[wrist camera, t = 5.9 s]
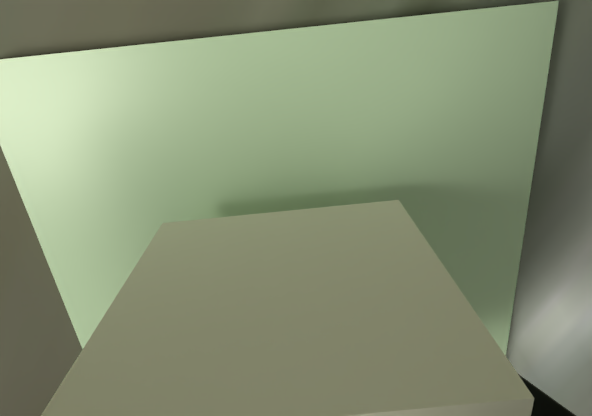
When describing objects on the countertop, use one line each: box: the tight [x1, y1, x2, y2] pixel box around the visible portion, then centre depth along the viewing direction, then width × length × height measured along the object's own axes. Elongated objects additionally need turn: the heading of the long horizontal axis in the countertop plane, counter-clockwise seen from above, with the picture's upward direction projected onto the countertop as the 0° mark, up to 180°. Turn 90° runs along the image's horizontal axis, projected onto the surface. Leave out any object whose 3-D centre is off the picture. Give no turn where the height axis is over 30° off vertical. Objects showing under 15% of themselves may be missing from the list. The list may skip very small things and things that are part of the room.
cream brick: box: [41, 200, 534, 416], centre depth 7 cm, size 5×5×5 cm
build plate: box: [0, 1, 559, 356], centre depth 11 cm, size 12×12×1 cm
